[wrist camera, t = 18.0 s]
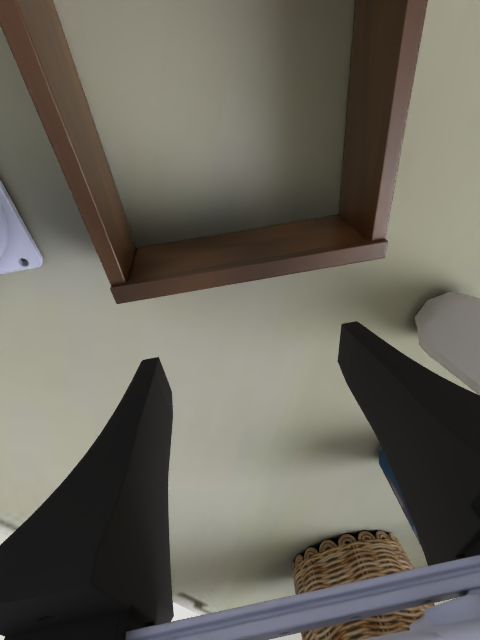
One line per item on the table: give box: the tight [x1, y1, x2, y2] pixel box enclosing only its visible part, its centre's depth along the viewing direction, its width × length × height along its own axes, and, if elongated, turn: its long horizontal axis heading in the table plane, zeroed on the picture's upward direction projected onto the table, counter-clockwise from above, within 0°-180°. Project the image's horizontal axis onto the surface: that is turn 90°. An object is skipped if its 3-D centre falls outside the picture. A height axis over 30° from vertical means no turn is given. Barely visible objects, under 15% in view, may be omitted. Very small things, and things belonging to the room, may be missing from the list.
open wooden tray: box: [0, 0, 428, 304], centre depth 15 cm, size 15×14×5 cm
